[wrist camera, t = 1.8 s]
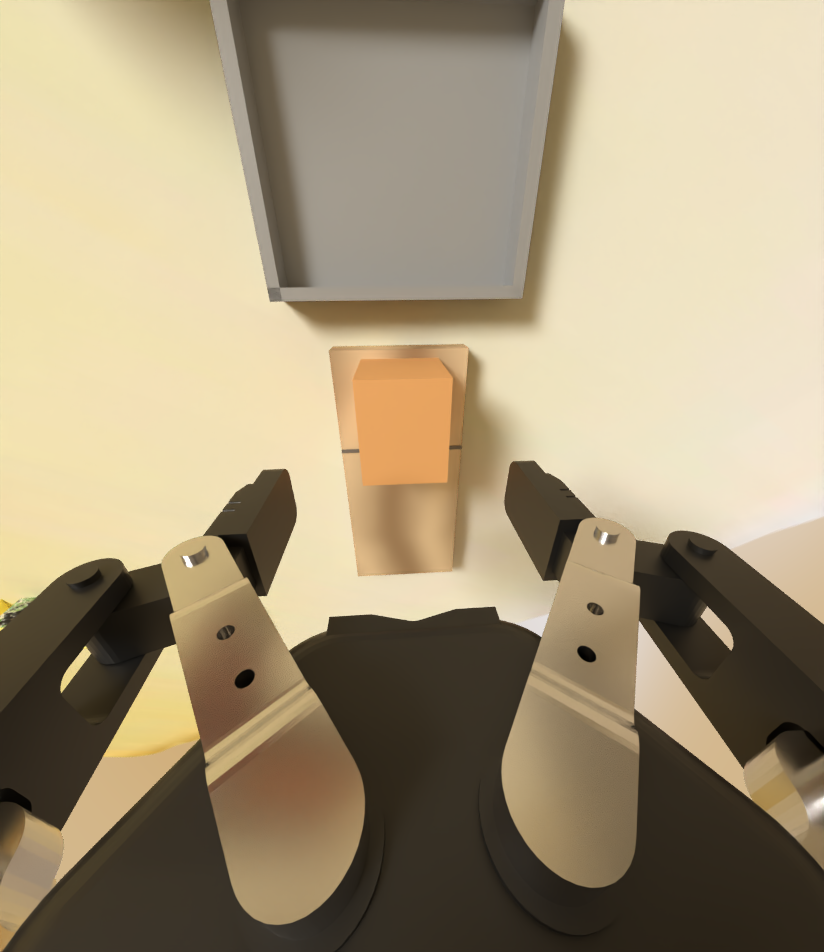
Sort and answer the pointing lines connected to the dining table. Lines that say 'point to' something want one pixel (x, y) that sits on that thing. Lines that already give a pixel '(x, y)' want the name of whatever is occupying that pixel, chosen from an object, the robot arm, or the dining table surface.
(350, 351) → the wooden board
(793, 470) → the dining table surface
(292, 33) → the tray
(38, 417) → the dining table surface
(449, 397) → the block
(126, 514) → the dining table surface
